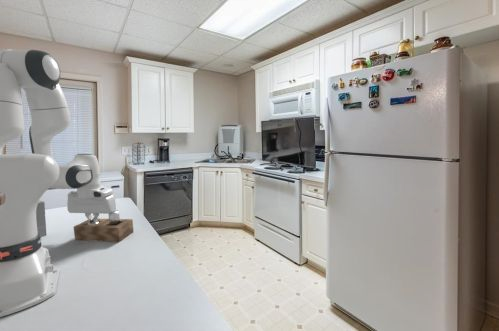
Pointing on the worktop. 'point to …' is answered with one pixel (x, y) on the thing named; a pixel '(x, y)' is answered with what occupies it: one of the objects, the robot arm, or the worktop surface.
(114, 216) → the steel peg
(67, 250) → the worktop surface
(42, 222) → the skincare box
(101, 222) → the walnut block
